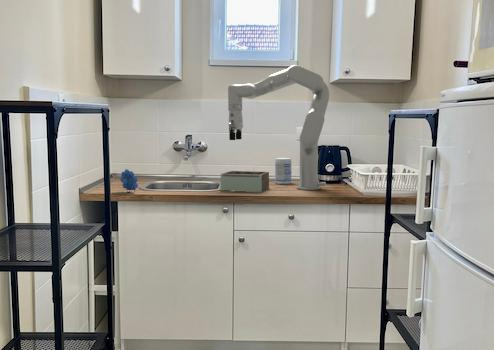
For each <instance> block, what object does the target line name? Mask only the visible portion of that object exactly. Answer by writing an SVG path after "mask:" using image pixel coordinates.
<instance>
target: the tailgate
mask: <svg viewBox="0 0 494 350" xmlns="http://www.w3.org/2000/svg"><path fill="white" fill-rule="evenodd" d="M221 190H234V191H233V192H235V191H250V192H249V193H263V192H262V175H249V174H222V173H220V191H221Z"/></svg>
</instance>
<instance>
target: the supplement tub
mask: <svg viewBox="0 0 494 350" xmlns="http://www.w3.org/2000/svg"><path fill="white" fill-rule="evenodd" d="M274 163H275V164H274V165H275V166H274V167H275V168H274V178H275V179H274V182H275V184H277V185H290V184H291V183H292V158H289V157H276V158H275V162H274Z"/></svg>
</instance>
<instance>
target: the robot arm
mask: <svg viewBox="0 0 494 350" xmlns="http://www.w3.org/2000/svg"><path fill="white" fill-rule="evenodd" d="M294 84H297V85H299V86H302V87H305V88H307V89H309V91H311V93H312V99H311V101H310V102H311V103H310V106H309V109H308V112H307V114H306V115H305V116H306V117H305V118H304V123H303V126H302V130H301V133H300V135H299V185H297V186H296V189H298V190H303V191H304V190H305V191H314V190H315V191H316V190H320V189H321V186H322V187H324V186H326V185H327V184H326V181H320V179H318V175H319V174H318V173H319V171H318V166H319V163H318V160H319V155H318V154H319V139H320V137H321V133H322V129H323V127H324V123H325V115H326V110H327V108H328V104H329V99H330V90H329V88H328V86H327V84H326V82H325V81H324V78H323V76H321V75H320V74H319V73H317V72H313V71H311V70H309V69H307V68H304V67H302V66H300V65H298V64H293V65H291V66H289V67H288V68H287V69H283V70H281V71H278V72H275V73H273V74H270V75H269V76H267V77H266V78H265V79H262V80H260V81H258V82H255V83H245V84H229V85H228V87H227V97H228V98H227V103H228V104H227V107H228V108H227V109H228V110H227V111H228V132H229V133H228V134H229V137H228V138H229V141H236V140H242V137H243V136H242V132H243V131H242V129H243V128H244V123H243V112H242V111H243V98H245V99H248V100H249V99H250V100H251V99H252V100H253V99H255V98H258V97H262V96H264V95H266V94H269V93H272V92H275V91H278V90H281V89H283V88H286V87H289V86H292V85H294Z"/></svg>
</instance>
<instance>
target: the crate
mask: <svg viewBox="0 0 494 350" xmlns="http://www.w3.org/2000/svg"><path fill="white" fill-rule="evenodd" d="M221 174H249V175H262V192H261V193H263V192H265V191H267V190H268V189H270V172H269V171H255V170H254V171H249V170H248V171H247V170H246V171H245V170H244V171H243V170H228V171H226V172H222V173H221Z"/></svg>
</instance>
